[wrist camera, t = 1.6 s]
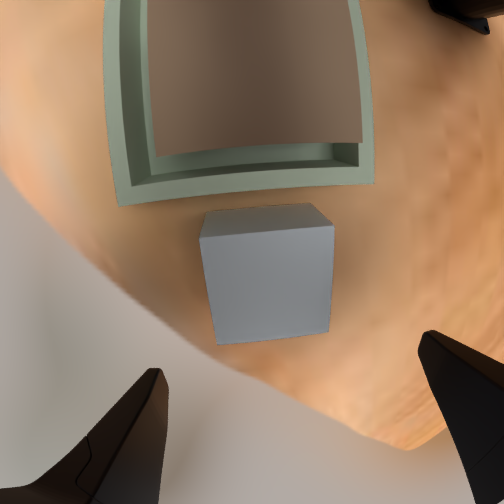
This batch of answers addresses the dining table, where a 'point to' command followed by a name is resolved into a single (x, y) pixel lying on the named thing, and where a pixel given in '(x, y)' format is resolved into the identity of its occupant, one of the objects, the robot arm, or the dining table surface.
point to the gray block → (268, 272)
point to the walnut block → (251, 73)
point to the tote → (217, 160)
